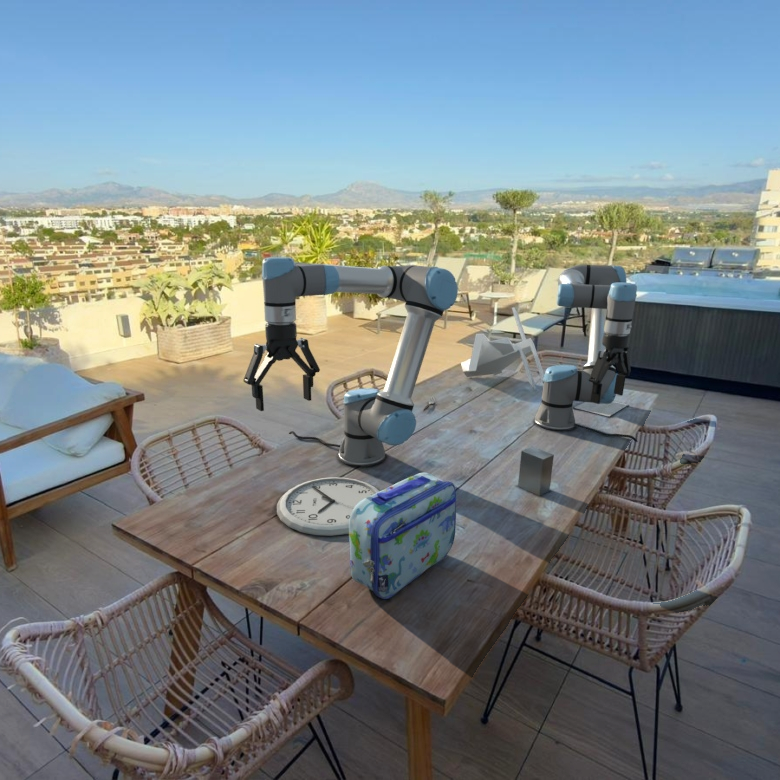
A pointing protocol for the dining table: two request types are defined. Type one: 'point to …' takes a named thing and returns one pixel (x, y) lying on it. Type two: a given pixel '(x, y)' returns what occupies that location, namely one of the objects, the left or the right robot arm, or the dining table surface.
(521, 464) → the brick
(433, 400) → the fork
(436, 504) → the lunch box
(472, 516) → the dining table surface
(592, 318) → the right robot arm
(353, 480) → the wall clock
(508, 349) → the white plastic object
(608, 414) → the invitation card
